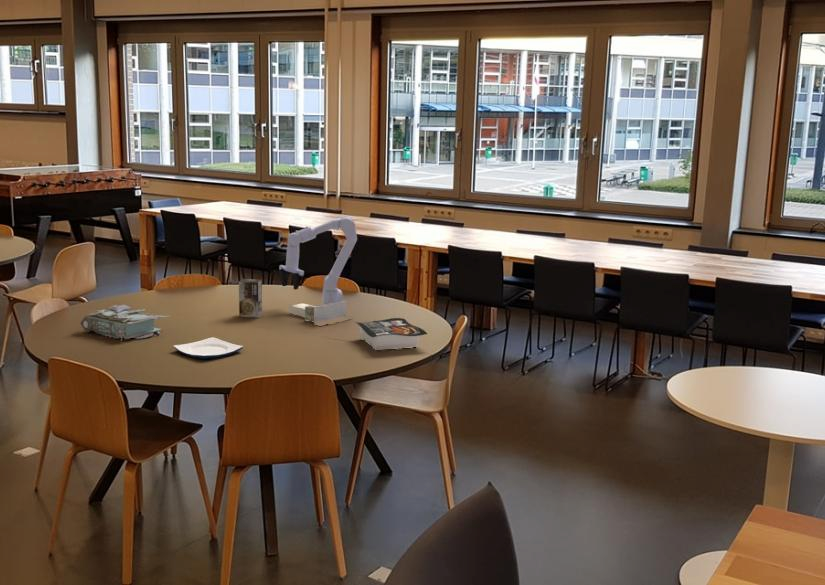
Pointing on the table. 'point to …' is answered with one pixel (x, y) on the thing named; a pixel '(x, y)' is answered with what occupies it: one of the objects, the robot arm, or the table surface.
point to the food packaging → (390, 333)
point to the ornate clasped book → (121, 323)
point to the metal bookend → (329, 311)
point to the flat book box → (299, 309)
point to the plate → (208, 348)
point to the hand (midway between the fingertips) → (290, 287)
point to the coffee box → (250, 298)
